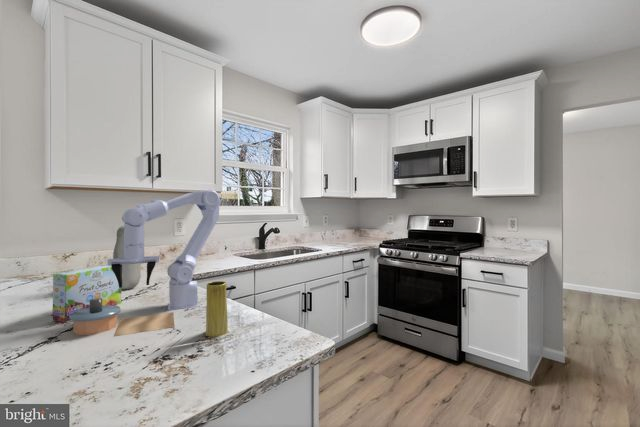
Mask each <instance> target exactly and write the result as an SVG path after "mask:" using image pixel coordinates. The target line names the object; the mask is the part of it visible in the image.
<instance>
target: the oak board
mask: <svg viewBox="0 0 640 427" xmlns="http://www.w3.org/2000/svg"><path fill="white" fill-rule="evenodd" d="M174 314H175V313H174V312H173V311H172V312H164V313H159V314H149V315H141V316H134V317H127V318H120V320H119V322H118V324H117V326H116V330H115V332H114V334H113V337H118V336H119V337H121V336H125V335H133V334H139V333H146V332H152V331H157V330H166V329H171V328H175V316H174Z"/></svg>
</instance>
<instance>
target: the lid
mask: <svg viewBox="0 0 640 427" xmlns="http://www.w3.org/2000/svg"><path fill="white" fill-rule="evenodd" d="M89 302H90V308H85V309H82V310H78V311H76V312H73V313H72V314H70V321H71V322H73V321H76V322H84V321H94V320H100V319H104V318H108V317H111V316H114V315H116V314H117V315H118V314H119V313H121V306H119V305H115V306H114V305H105V306H102V298H95V299H91V300H89Z"/></svg>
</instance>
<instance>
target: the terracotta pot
mask: <svg viewBox="0 0 640 427" xmlns="http://www.w3.org/2000/svg"><path fill="white" fill-rule="evenodd" d="M72 322H73V325H72V326H73V328H72V329H73V330H72V331H73V334H74V335H77V336H78V335H79V336H90V335H96V334H97V335H98V334H101V333H104V332H108V331H110V330H113V329H114V328H115V329H116V328H117V326H118V314H116V315H114V316H111V317H108V318H104V319H100V320H94V321H84V322H76V321H72Z"/></svg>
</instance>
